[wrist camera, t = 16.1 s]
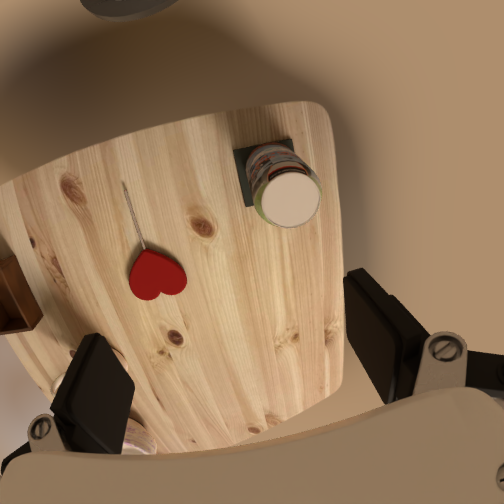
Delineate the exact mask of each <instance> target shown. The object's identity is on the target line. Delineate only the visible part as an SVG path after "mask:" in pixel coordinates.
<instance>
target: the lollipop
mask: <svg viewBox="0 0 504 504" xmlns="http://www.w3.org/2000/svg"><path fill="white" fill-rule="evenodd" d="M124 193H125V196H126V199H127V203H128V206H129V209H130V212H131V215H132V218H133V221H134V224H135V227H136V230H137V233H138V235H139V238H140V241H141V244H142V247H143V251H142V252H141V253H140V255H139V256H138V258H137V259H136V261H135V262H134V264H133V267H132V269H131V272H130V276H129V285H130V289H131V291H132V292H133V294H134V295H135V296H136V297H138V298H139V299H142V300H153V299H155V298H157V297H158V296H159V294H160V292H162V293H164V294H167V295H176V294H178V293H180V292H182V291H183V290H184V288H185V287H186V284H187V277H186V274H185V271H184V270H183V269H182V267H181V266H180V265H179V264H177V263H176V262H175V261H174V260H172V259H170V258H169V257H167V256H165V255H163V254H161V253H158V252H156V251H153V250H150V249H147V248H146V247H145V244H144V241H143V238H142V236H141V233H140V230H139V227H138V224H137V221H136V218H135V215H134V212H133V209H132V206H131V203H130V199H129V196H128V193H127V190H124Z"/></svg>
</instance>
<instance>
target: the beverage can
mask: <svg viewBox="0 0 504 504" xmlns="http://www.w3.org/2000/svg"><path fill="white" fill-rule="evenodd" d="M246 174H247V179H248V183H249V187H250V191H251V195H252V199H253V203H254V206H255V209H256V211H257V212H258V214H259V215H260V216H261V217H262V218H263V219H264V220H265V221H266V222H268V223H270V224H271V225H274V226H277V227H281V228H290V229H291V228H297V227H300V226H302V225H304V224H306V223H308V222H309V221H310V220H311V219H312V218H313V217H314V216H315V214H316V213H317V211H318V209H319V206H320V203H321V198H322V187H321V183H320V181H319V178H318V177H317V175H316V174H315V172H314V171H313V170H312V169H311V168H310V167H309V166H308V165H307V164H306V163H305V162H303V161H302V160H301V159H300V158H299V157H298V156H297V155H296V154H295V153H294V152H293V151H292V150H291V149H290V148H289V147H287V146H286V145H283V144H281V143H277V142H268V143H264V144H262V145H260V146H258V147H256V148H255V149H254V150H253V151H252V152H251V153H250V155H249V157H248V159H247V162H246Z"/></svg>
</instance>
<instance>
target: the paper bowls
mask: <svg viewBox="0 0 504 504" xmlns="http://www.w3.org/2000/svg"><path fill="white" fill-rule="evenodd" d="M156 449H157V444H156V441H155V440H154V438H153V437H152V436H151V435H149V434H148V433H147V431H146V430H145V428H144V427H143V426H142V425H141V424H139V423H138V422H136V421H134V420H132V419H130V418H128V422H127V427H126V432H125V437H124V442H123V448H122V453H121V455H146V454H156Z"/></svg>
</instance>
